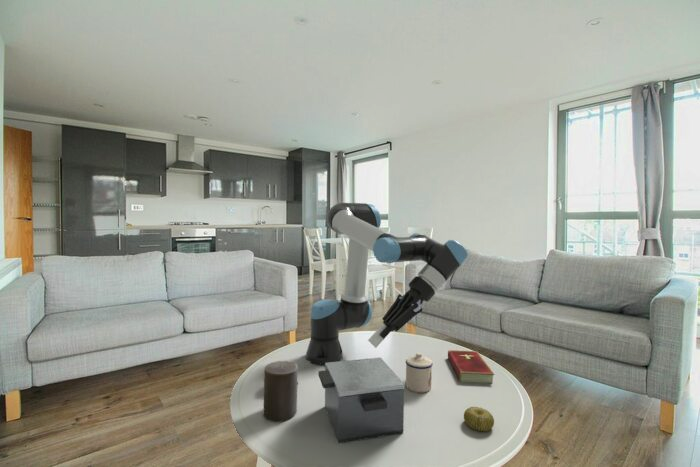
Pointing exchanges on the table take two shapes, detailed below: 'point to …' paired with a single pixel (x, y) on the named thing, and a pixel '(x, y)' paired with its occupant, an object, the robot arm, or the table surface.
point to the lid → (359, 377)
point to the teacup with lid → (418, 373)
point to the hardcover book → (470, 366)
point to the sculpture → (478, 419)
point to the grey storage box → (365, 414)
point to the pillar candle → (280, 391)
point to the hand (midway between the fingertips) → (372, 344)
